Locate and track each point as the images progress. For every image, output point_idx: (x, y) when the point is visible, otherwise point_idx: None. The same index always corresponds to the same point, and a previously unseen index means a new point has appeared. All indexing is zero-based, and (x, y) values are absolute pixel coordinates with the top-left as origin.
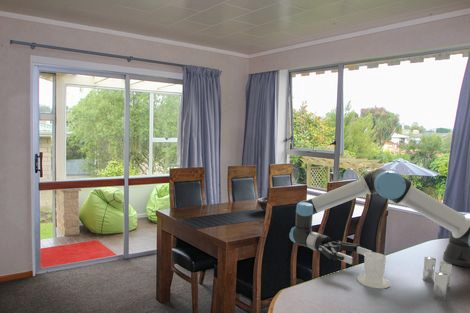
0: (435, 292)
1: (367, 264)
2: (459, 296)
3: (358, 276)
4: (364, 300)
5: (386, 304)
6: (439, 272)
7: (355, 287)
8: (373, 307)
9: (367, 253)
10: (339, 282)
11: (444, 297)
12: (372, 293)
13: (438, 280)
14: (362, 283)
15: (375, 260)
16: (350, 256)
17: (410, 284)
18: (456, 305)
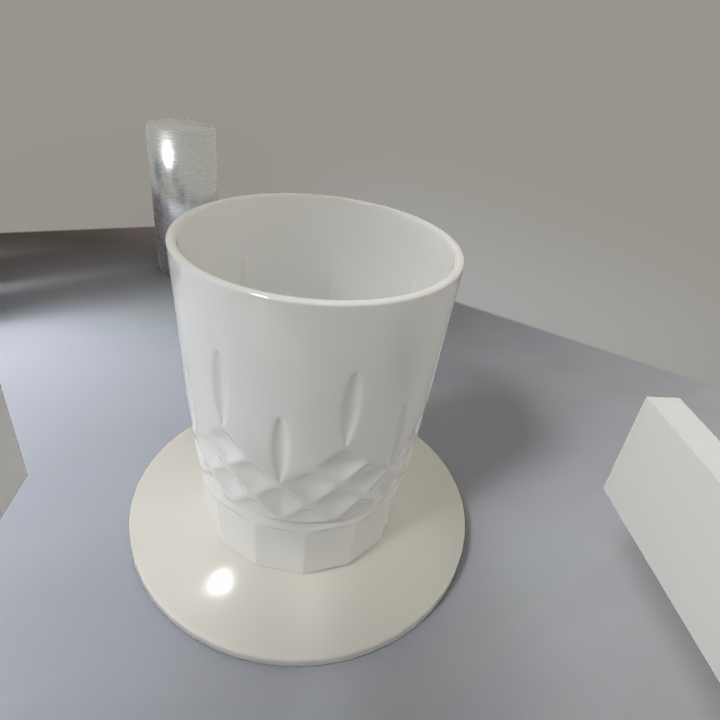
0: None
1: (439, 354)
2: (88, 238)
3: (356, 643)
4: (634, 410)
5: (525, 345)
6: (164, 127)
7: (575, 534)
8: (626, 362)
9: (297, 310)
10: (706, 707)
11: None
12: (503, 423)
13: (216, 163)
14: (463, 522)
15: (421, 239)
16: (671, 424)
17: (91, 357)
18: None
